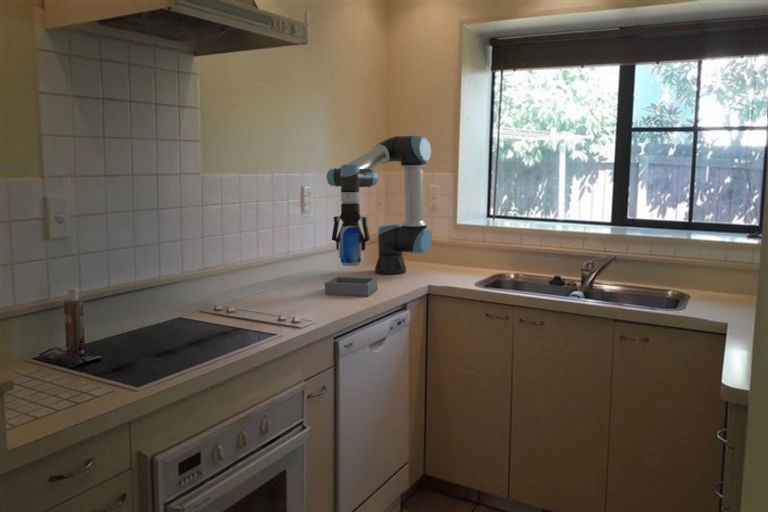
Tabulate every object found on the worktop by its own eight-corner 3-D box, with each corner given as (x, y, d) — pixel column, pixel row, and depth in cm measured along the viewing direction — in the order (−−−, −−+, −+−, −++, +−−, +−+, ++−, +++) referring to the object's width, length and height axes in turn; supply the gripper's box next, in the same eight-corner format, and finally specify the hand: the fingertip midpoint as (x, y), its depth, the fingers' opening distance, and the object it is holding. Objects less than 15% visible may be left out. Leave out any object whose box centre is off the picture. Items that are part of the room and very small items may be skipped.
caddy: (336, 288, 281) (336, 276, 281) (377, 289, 277) (377, 278, 276) (325, 294, 268) (324, 282, 267) (367, 296, 263) (367, 284, 263)
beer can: (345, 266, 265) (344, 227, 263) (337, 263, 273) (337, 225, 270) (364, 265, 268) (363, 226, 266) (356, 262, 276) (356, 224, 274)
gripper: (322, 202, 266) (323, 258, 269) (372, 203, 261) (373, 260, 264) (328, 201, 273) (329, 255, 276) (377, 202, 268) (378, 257, 271)
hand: (350, 257), depth 270 cm, fingers closed on beer can, 8 cm apart
